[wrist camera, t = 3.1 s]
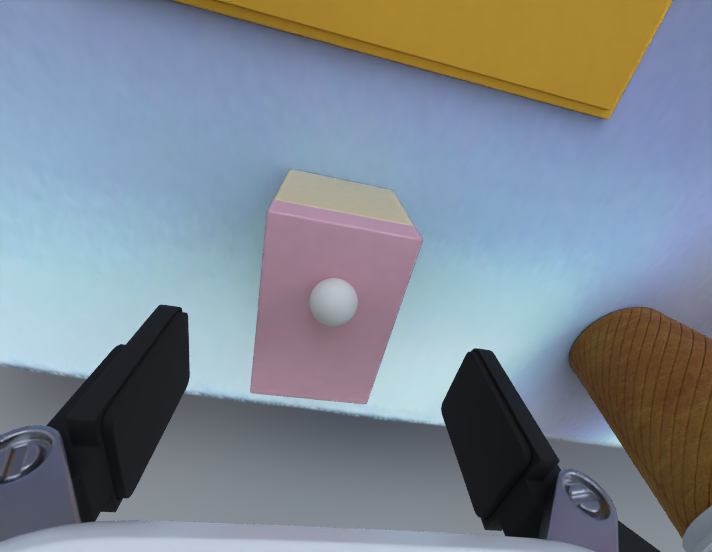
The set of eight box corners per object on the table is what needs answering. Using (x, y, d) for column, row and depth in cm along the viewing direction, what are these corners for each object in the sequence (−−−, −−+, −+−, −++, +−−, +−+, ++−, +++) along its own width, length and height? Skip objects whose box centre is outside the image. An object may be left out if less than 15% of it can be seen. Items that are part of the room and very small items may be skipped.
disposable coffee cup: (726, 295, 20) (1138, 512, 10) (633, 399, 25) (849, 623, 14) (593, 272, 19) (913, 497, 8) (520, 387, 23) (670, 626, 13)
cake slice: (272, 309, 19) (241, 423, 12) (289, 168, 15) (257, 227, 9) (357, 321, 20) (369, 434, 13) (394, 190, 16) (436, 259, 9)
